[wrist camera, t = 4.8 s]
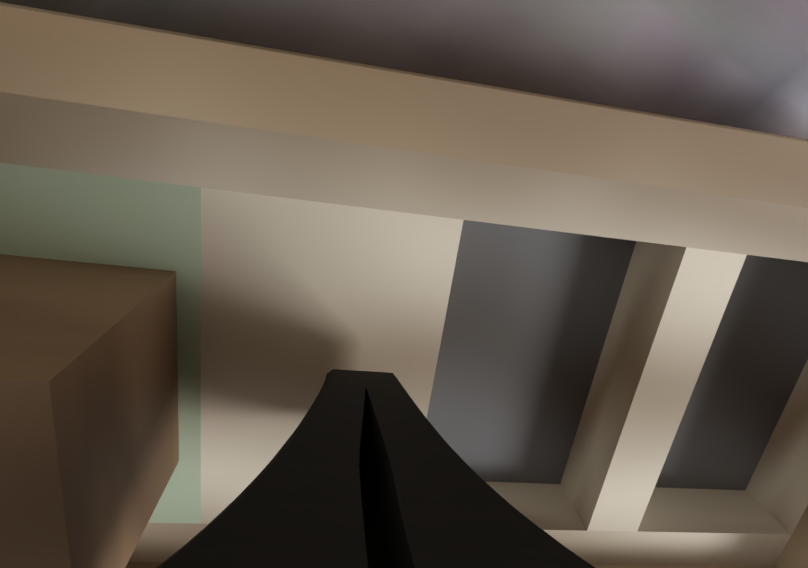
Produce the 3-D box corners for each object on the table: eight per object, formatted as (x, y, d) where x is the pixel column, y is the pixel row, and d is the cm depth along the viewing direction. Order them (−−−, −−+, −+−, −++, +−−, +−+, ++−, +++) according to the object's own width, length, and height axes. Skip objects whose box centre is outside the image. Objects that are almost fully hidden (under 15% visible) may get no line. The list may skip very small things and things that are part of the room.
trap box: (723, 540, 16) (836, 667, 12) (-46, 529, 13) (-213, 701, 9) (903, 165, 12) (1154, 185, 8) (-166, -14, 8) (-580, -121, 5)
